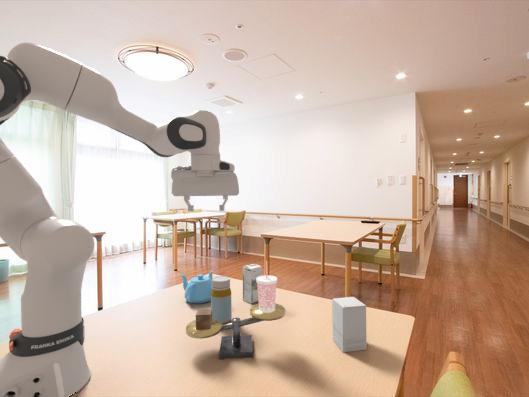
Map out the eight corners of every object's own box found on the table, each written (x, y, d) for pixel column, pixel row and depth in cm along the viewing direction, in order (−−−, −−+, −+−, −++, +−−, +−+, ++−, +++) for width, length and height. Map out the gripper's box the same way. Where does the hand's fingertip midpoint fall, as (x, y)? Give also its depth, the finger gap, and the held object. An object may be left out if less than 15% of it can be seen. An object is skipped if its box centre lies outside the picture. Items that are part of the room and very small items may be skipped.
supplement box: (367, 350, 78) (367, 305, 78) (342, 352, 77) (342, 307, 77) (354, 336, 86) (354, 296, 85) (331, 339, 84) (331, 297, 84)
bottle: (227, 327, 92) (227, 282, 92) (207, 325, 94) (207, 281, 94) (234, 318, 99) (233, 276, 99) (215, 316, 101) (215, 275, 100)
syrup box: (253, 296, 120) (252, 263, 119) (262, 300, 115) (262, 265, 115) (242, 300, 116) (242, 265, 116) (251, 304, 111) (251, 268, 111)
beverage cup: (252, 310, 79) (251, 261, 79) (264, 303, 84) (264, 257, 84) (269, 315, 76) (269, 264, 75) (281, 308, 81) (281, 260, 80)
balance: (182, 362, 73) (182, 321, 73) (189, 342, 83) (189, 305, 83) (287, 356, 76) (287, 316, 75) (282, 337, 86) (282, 301, 85)
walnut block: (195, 329, 76) (195, 315, 76) (198, 322, 80) (198, 309, 80) (210, 328, 77) (210, 314, 77) (212, 322, 81) (212, 308, 81)
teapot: (184, 308, 108) (184, 282, 108) (180, 295, 122) (179, 272, 122) (221, 302, 114) (221, 277, 114) (213, 290, 128) (213, 268, 128)
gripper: (168, 164, 81) (169, 212, 82) (238, 164, 83) (239, 211, 83) (173, 167, 88) (174, 210, 88) (238, 166, 89) (239, 209, 90)
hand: (206, 211), depth 86 cm, fingers open, 8 cm apart
